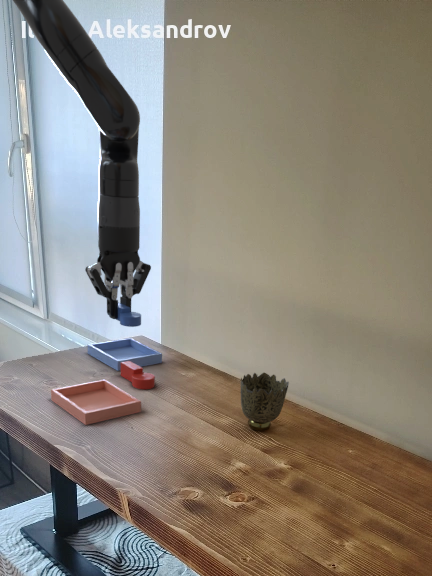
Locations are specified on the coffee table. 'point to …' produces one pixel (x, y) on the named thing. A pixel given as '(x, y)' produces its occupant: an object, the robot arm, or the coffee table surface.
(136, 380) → the red stepped block
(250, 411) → the cup
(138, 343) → the blue tray
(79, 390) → the red tray
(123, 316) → the blue rounded block
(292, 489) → the coffee table surface
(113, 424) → the coffee table surface
